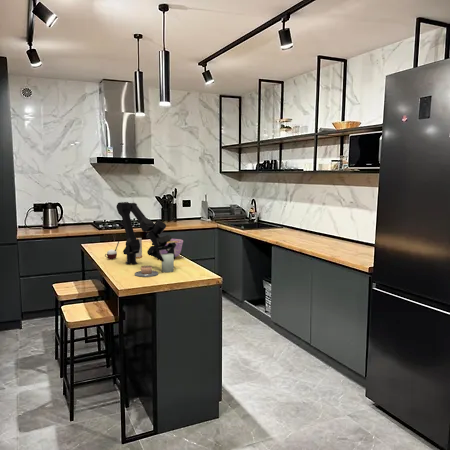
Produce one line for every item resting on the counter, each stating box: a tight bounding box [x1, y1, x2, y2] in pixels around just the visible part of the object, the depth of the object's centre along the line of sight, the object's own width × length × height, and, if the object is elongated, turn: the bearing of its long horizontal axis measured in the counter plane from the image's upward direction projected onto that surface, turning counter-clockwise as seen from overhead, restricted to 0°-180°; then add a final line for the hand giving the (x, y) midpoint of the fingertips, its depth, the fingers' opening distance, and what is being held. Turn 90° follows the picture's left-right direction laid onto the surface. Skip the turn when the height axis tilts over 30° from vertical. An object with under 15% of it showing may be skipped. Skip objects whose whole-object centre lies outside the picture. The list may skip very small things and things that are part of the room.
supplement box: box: [135, 237, 143, 259], centre depth 282 cm, size 8×5×13 cm, turn 75°
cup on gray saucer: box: [134, 265, 159, 278], centre depth 236 cm, size 13×13×4 cm
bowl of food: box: [159, 238, 184, 258], centre depth 282 cm, size 20×20×12 cm
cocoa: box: [104, 240, 120, 260], centre depth 277 cm, size 10×6×12 cm, turn 72°
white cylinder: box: [161, 253, 175, 273], centre depth 244 cm, size 7×7×10 cm
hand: (169, 259), depth 243 cm, fingers open, 9 cm apart
